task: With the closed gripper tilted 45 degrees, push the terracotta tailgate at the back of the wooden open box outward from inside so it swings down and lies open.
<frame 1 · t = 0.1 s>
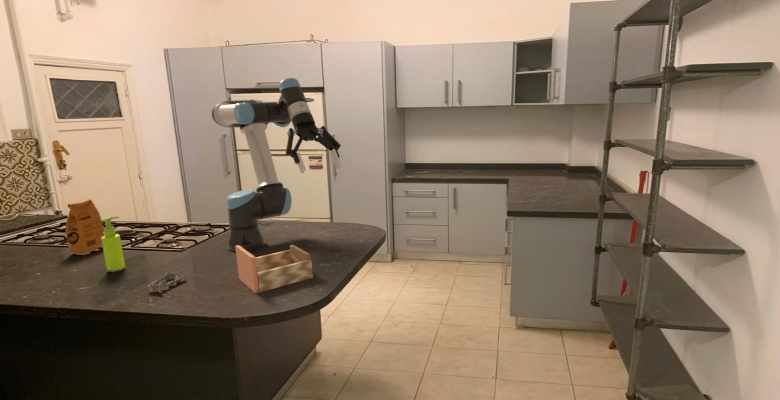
hand: (321, 169, 153), 36 cm above the worktop, tool tilted 35°, fingers open, 13 cm apart
coffee package: (88, 252, 192), on the worktop
wooden open box: (278, 280, 151), on the worktop
egg carton: (168, 288, 149), on the worktop
soap dispenser: (117, 270, 168), on the worktop
tailgate: (246, 268, 144), point 7 cm above the worktop, hinge at 0.0°
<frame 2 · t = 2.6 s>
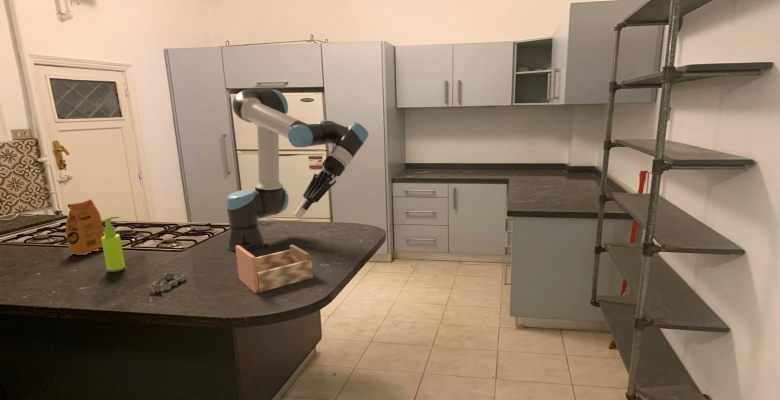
hand: (297, 216, 151), 21 cm above the worktop, tool tilted 45°, fingers closed
nothing on the worktop moved.
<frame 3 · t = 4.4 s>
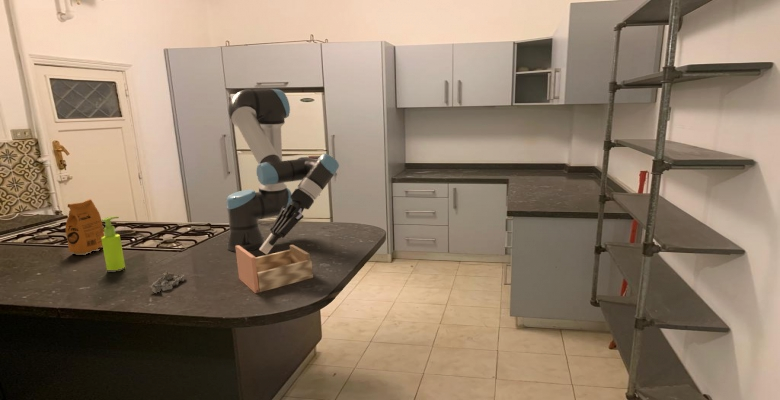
hand: (262, 252, 146), 11 cm above the worktop, tool tilted 45°, fingers closed
nothing on the worktop moved.
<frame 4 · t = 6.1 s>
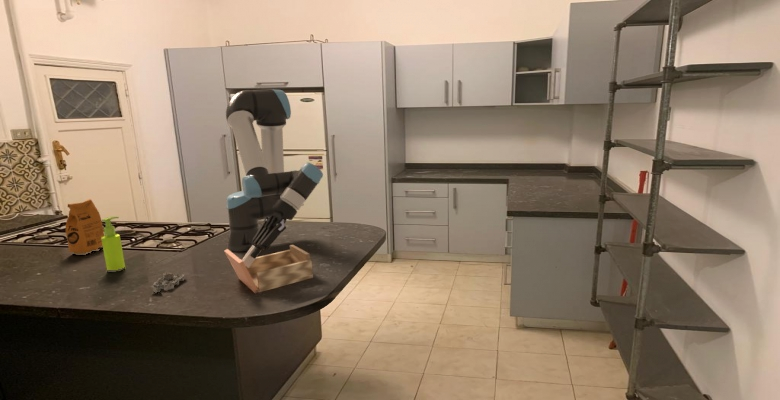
hand: (244, 265, 141), 9 cm above the worktop, tool tilted 45°, fingers closed, pressing on tailgate
tailgate: (240, 270, 143), point 6 cm above the worktop, hinge at 19.3°, touching gripper
everything else where it was.
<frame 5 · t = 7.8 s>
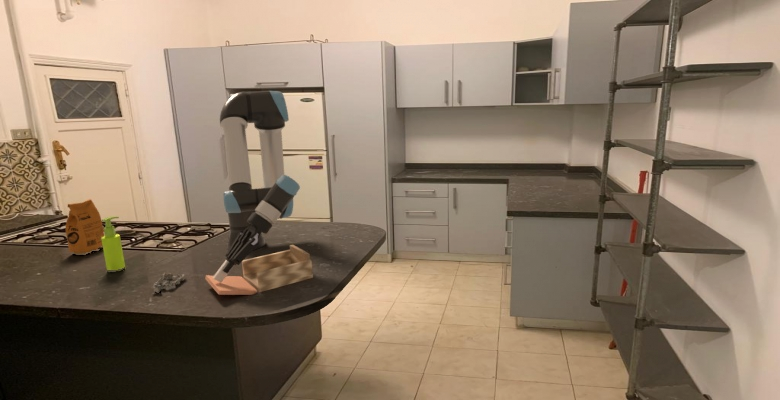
hand: (216, 280, 138), 5 cm above the worktop, tool tilted 45°, fingers closed
tailgate: (230, 284, 141), point 3 cm above the worktop, hinge at 73.6°, touching gripper
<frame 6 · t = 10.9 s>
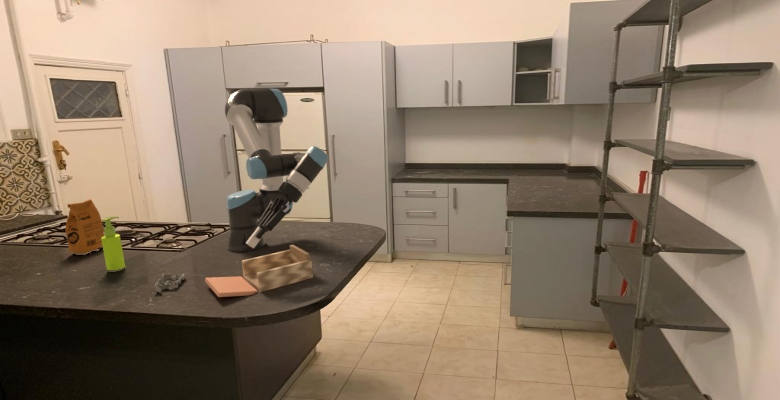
hand: (249, 245, 143), 14 cm above the worktop, tool tilted 45°, fingers closed
tailgate: (230, 286, 141), point 2 cm above the worktop, hinge at 77.4°
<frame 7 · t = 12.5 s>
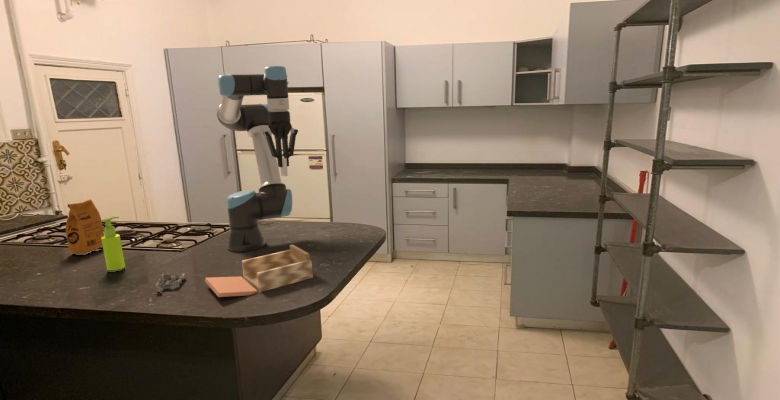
hand: (284, 175, 167), 32 cm above the worktop, tool pointing down, fingers closed
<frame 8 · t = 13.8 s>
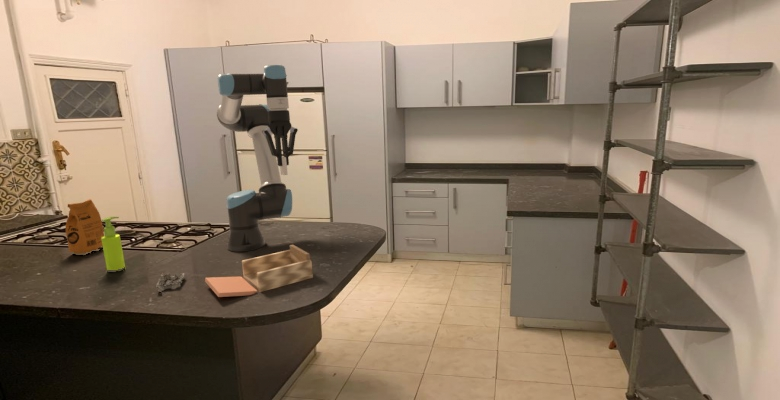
hand: (284, 174, 167), 32 cm above the worktop, tool pointing down, fingers closed
at the end: tailgate at +77° (first picture: +0°); egg carton moved 1.4 cm from its start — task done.
